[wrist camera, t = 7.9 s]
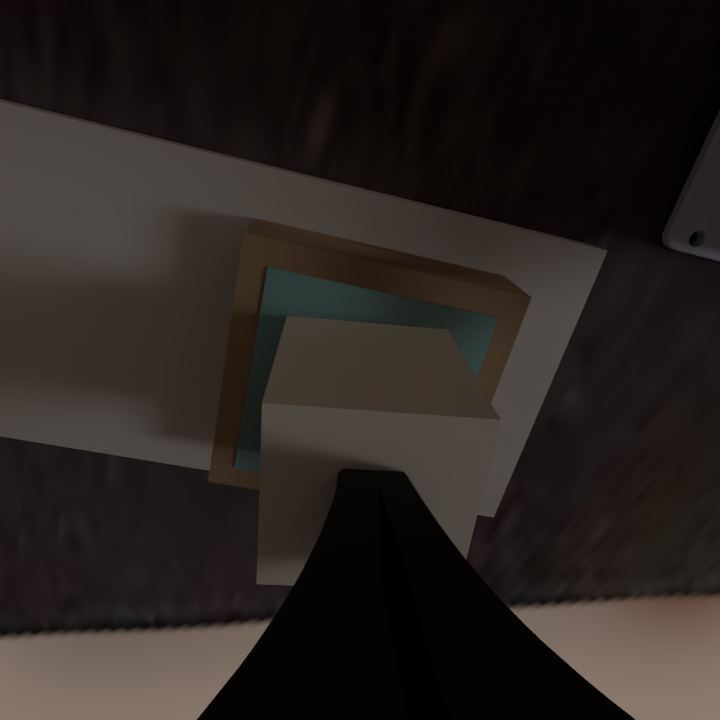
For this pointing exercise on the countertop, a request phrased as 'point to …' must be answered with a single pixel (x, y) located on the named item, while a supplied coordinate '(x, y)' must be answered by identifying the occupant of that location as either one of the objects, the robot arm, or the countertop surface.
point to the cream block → (366, 430)
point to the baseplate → (207, 284)
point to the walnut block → (345, 318)
